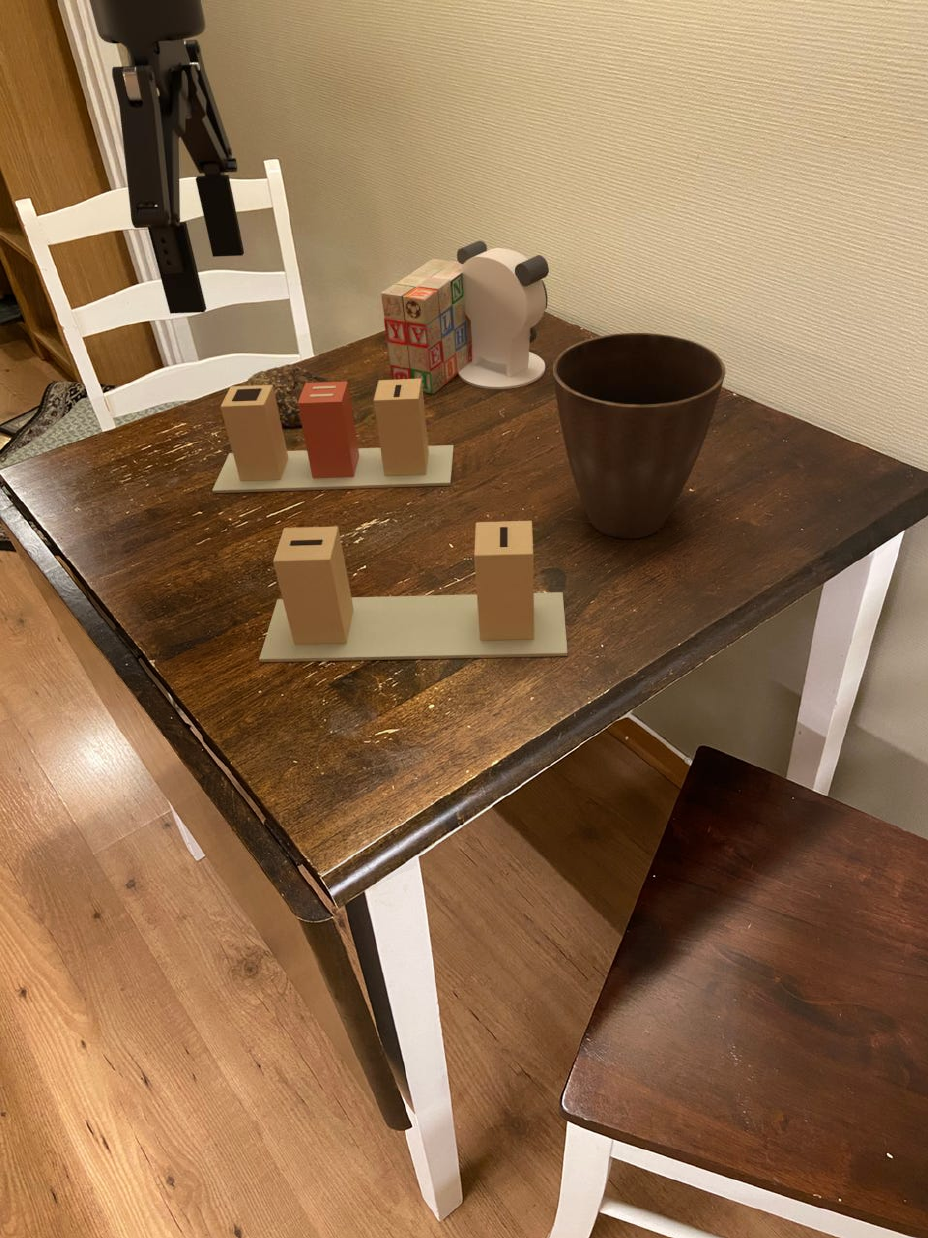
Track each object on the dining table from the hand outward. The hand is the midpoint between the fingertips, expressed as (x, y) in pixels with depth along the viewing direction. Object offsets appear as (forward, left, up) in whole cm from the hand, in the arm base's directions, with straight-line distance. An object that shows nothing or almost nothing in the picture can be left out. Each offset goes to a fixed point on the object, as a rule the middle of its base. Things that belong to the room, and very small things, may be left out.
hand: (210, 281), depth 75 cm
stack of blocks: (+17, +38, -25) cm, 49 cm away
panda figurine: (+24, +34, -25) cm, 49 cm away
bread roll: (-3, +26, -25) cm, 36 cm away
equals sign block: (+5, +10, -25) cm, 27 cm away
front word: (+16, -17, -25) cm, 34 cm away
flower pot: (+36, -1, -25) cm, 44 cm away
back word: (+5, +10, -25) cm, 27 cm away
